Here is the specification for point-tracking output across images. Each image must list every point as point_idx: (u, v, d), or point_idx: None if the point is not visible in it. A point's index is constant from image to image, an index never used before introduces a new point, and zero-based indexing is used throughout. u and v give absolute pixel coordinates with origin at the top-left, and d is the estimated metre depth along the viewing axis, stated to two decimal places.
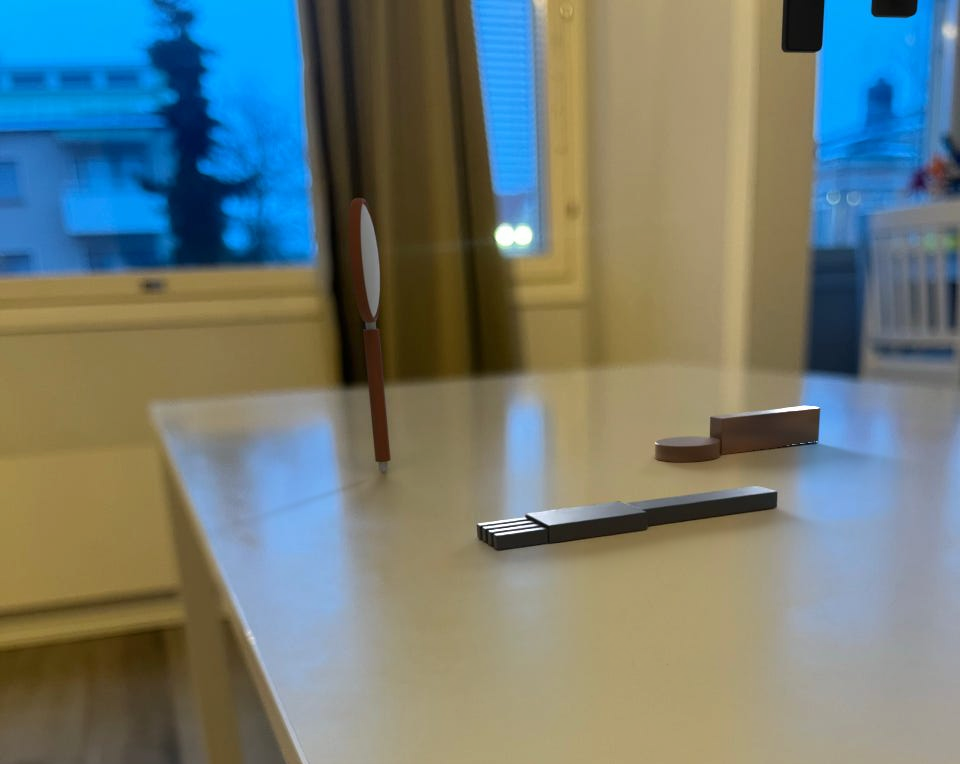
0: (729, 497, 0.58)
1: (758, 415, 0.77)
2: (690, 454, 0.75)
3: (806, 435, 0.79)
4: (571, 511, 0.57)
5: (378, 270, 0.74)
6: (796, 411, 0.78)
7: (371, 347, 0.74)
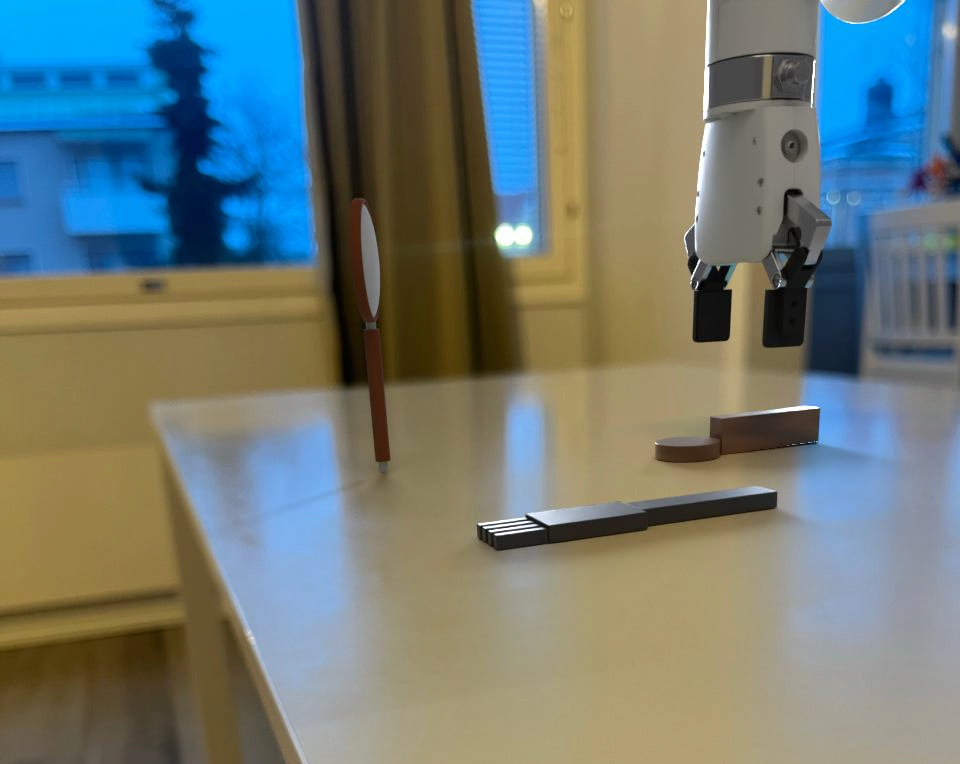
0: (729, 497, 0.58)
1: (758, 415, 0.77)
2: (690, 454, 0.75)
3: (806, 435, 0.79)
4: (571, 511, 0.57)
5: (378, 270, 0.74)
6: (796, 411, 0.78)
7: (371, 347, 0.74)
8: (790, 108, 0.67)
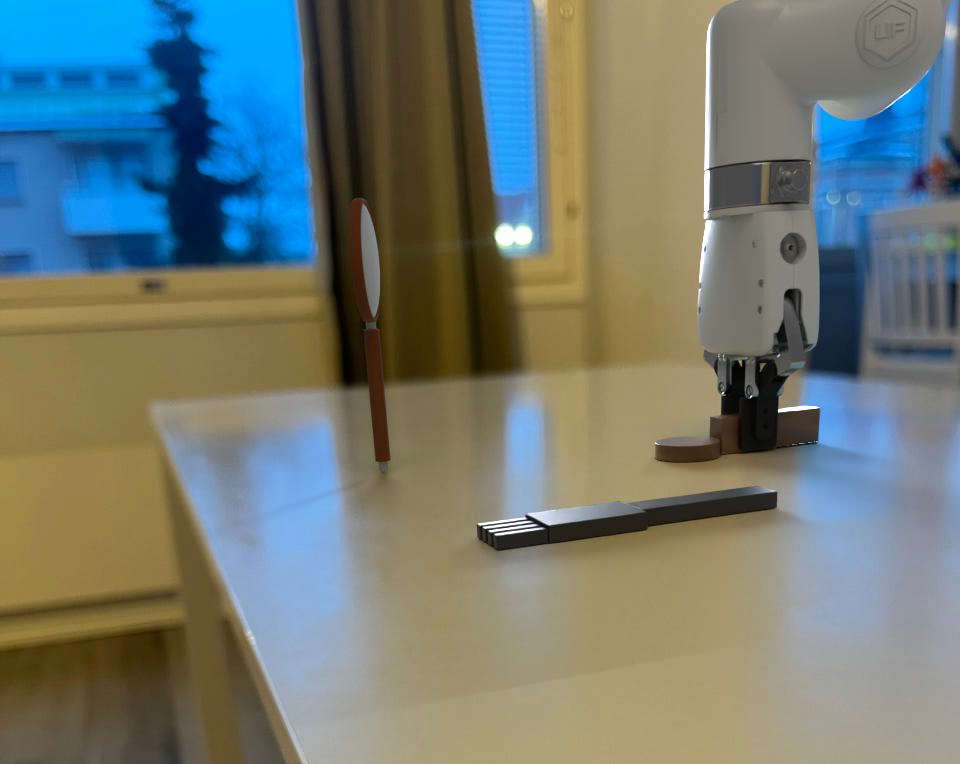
0: (729, 497, 0.58)
1: None
2: (690, 454, 0.75)
3: (806, 435, 0.79)
4: (571, 511, 0.57)
5: (378, 270, 0.74)
6: (796, 411, 0.78)
7: (371, 347, 0.74)
8: (788, 212, 0.69)
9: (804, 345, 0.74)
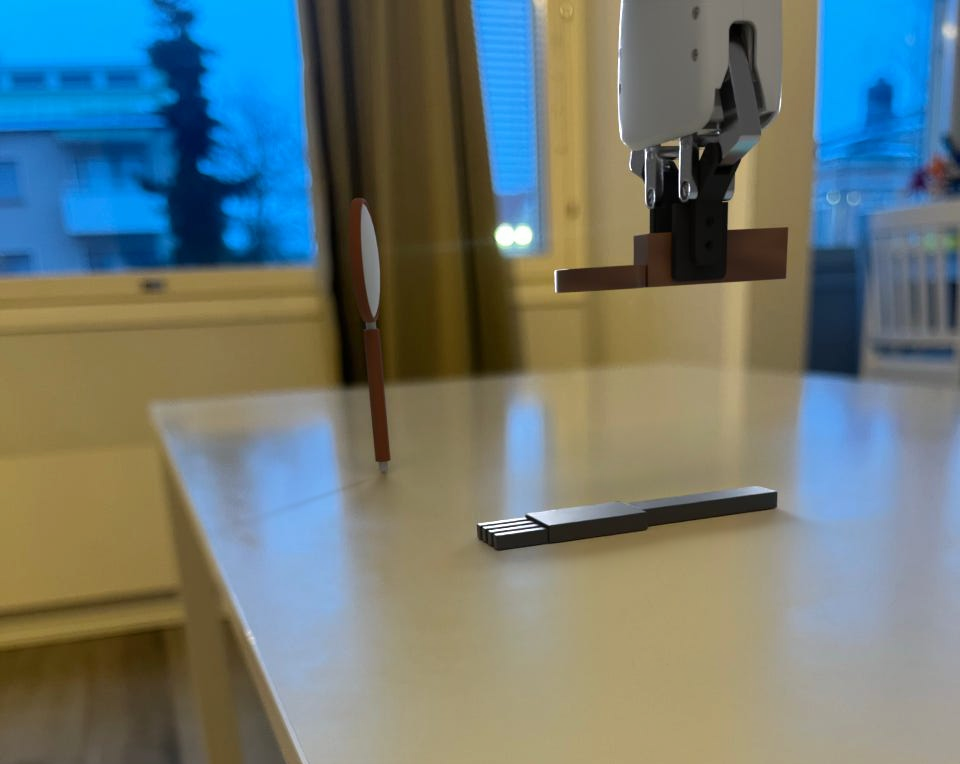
0: (729, 497, 0.58)
1: None
2: (599, 279, 0.53)
3: (769, 266, 0.57)
4: (571, 511, 0.57)
5: (378, 270, 0.74)
6: (754, 230, 0.56)
7: (371, 347, 0.74)
8: None
9: (762, 121, 0.52)
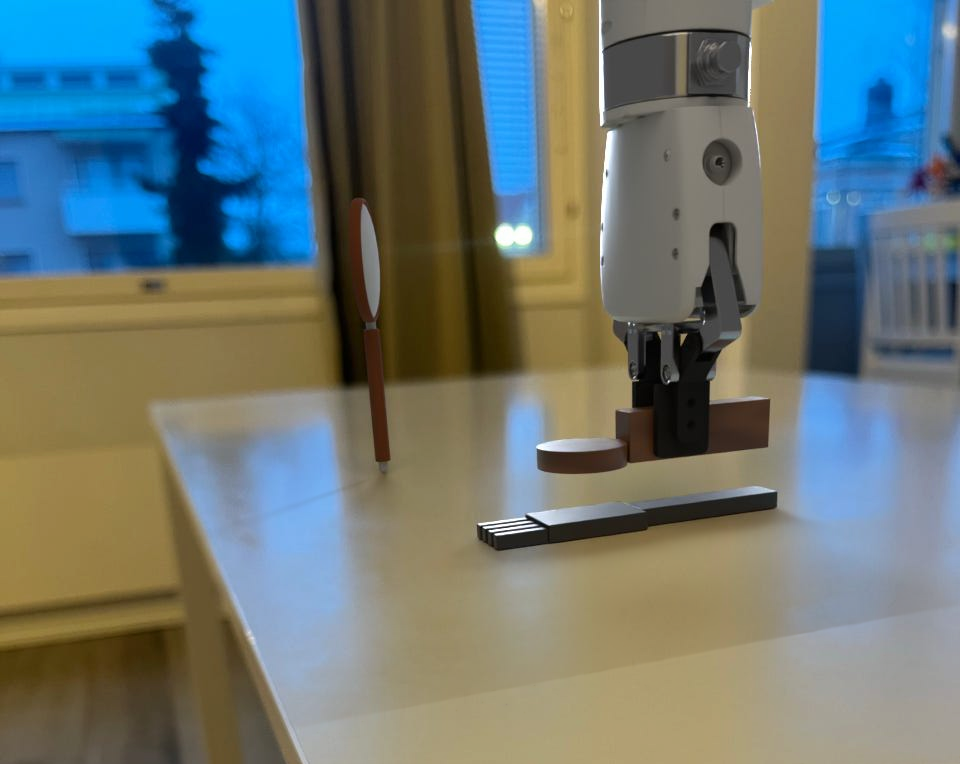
0: (729, 497, 0.58)
1: None
2: (581, 463, 0.53)
3: (751, 437, 0.57)
4: (571, 511, 0.57)
5: (378, 270, 0.74)
6: (736, 403, 0.56)
7: (371, 347, 0.74)
8: (715, 108, 0.47)
9: (744, 308, 0.52)
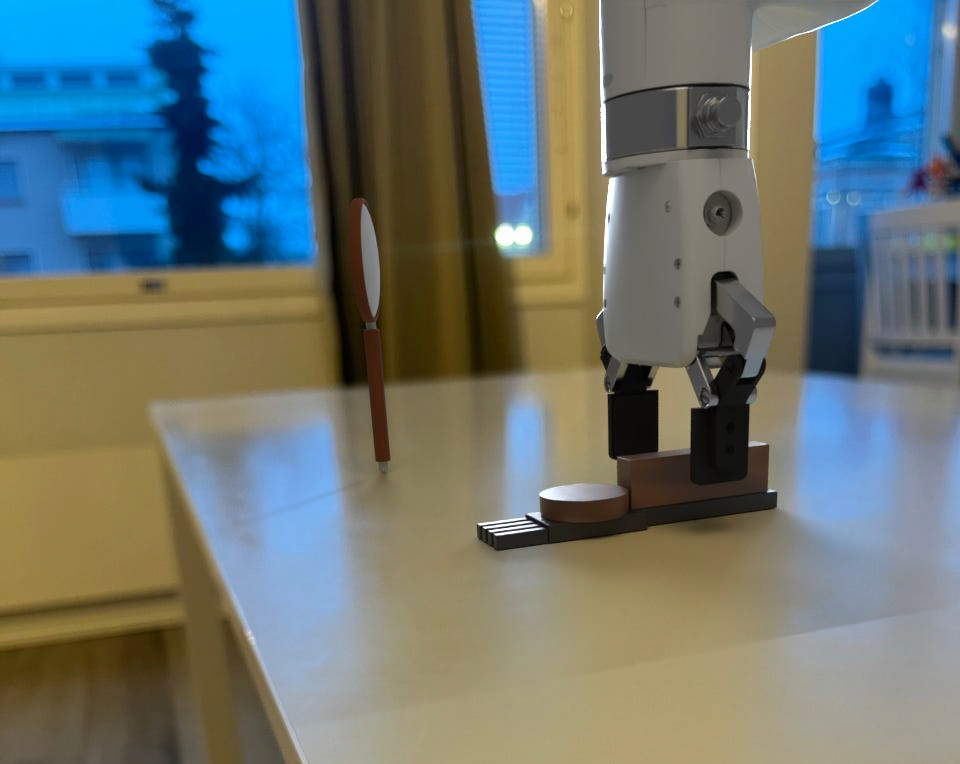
0: (729, 497, 0.58)
1: (682, 456, 0.56)
2: (583, 512, 0.54)
3: (750, 482, 0.58)
4: None
5: (378, 270, 0.74)
6: None
7: (371, 347, 0.74)
8: (715, 161, 0.48)
9: None
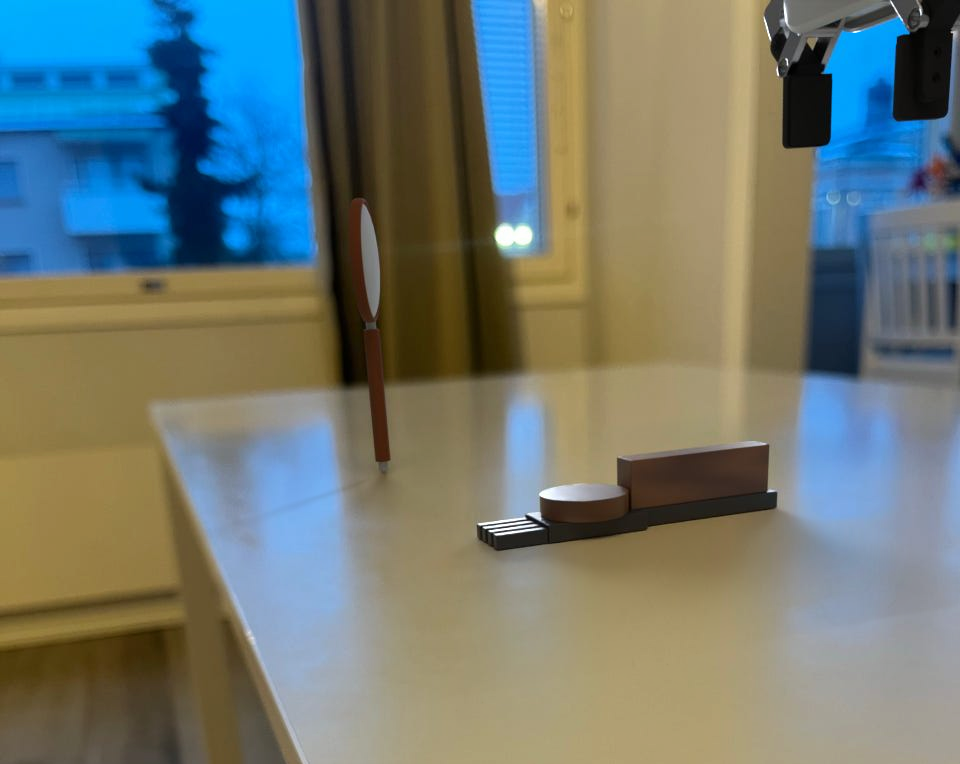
0: (729, 497, 0.58)
1: (682, 456, 0.56)
2: (583, 512, 0.54)
3: (750, 482, 0.58)
4: None
5: (378, 270, 0.74)
6: (736, 449, 0.57)
7: (371, 347, 0.74)
8: None
9: None
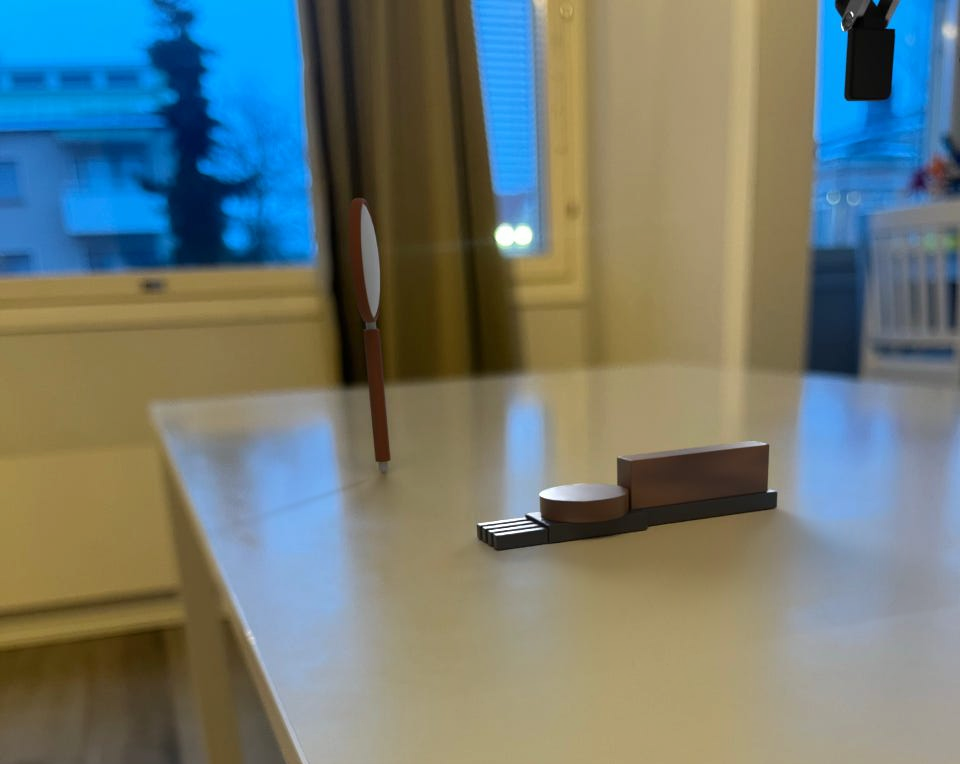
0: (729, 497, 0.58)
1: (682, 456, 0.56)
2: (583, 512, 0.54)
3: (750, 482, 0.58)
4: None
5: (378, 270, 0.74)
6: (736, 449, 0.57)
7: (371, 347, 0.74)
8: None
9: None
